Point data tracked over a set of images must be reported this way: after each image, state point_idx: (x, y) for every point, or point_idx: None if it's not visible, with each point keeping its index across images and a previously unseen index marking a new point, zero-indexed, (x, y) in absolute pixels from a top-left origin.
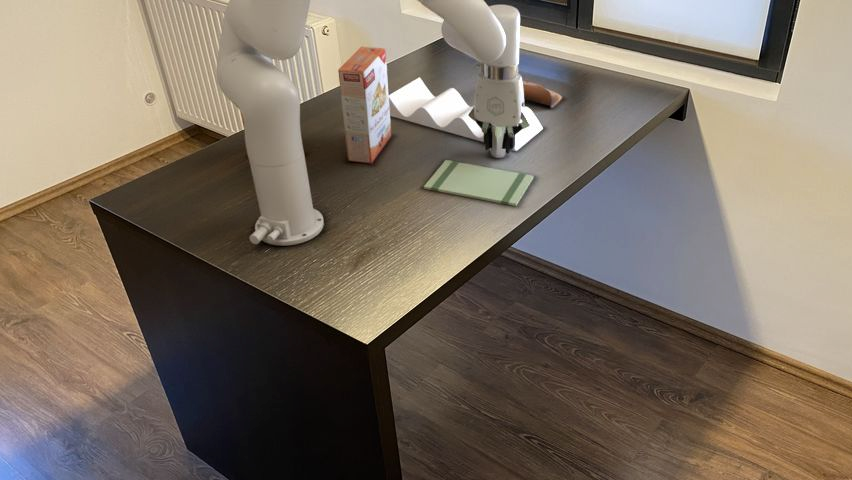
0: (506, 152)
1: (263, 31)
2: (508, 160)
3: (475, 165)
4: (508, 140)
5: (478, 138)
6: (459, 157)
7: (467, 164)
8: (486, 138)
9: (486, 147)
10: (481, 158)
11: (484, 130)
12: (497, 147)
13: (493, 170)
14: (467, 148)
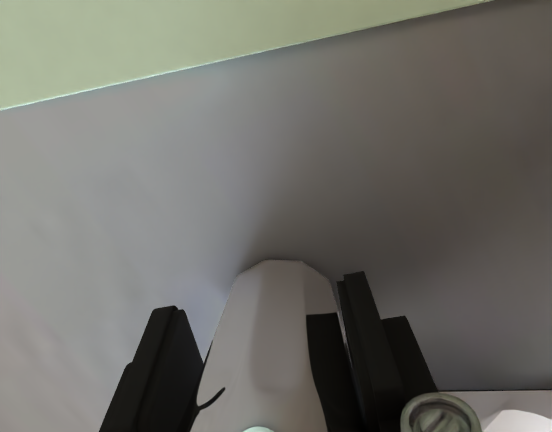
0: (170, 308)
1: None
2: (172, 276)
3: (335, 28)
4: (118, 403)
5: (509, 403)
6: (547, 121)
7: (415, 1)
8: (375, 345)
9: (356, 283)
10: (367, 201)
11: (436, 425)
12: (249, 314)
13: (135, 38)
14: (536, 274)
